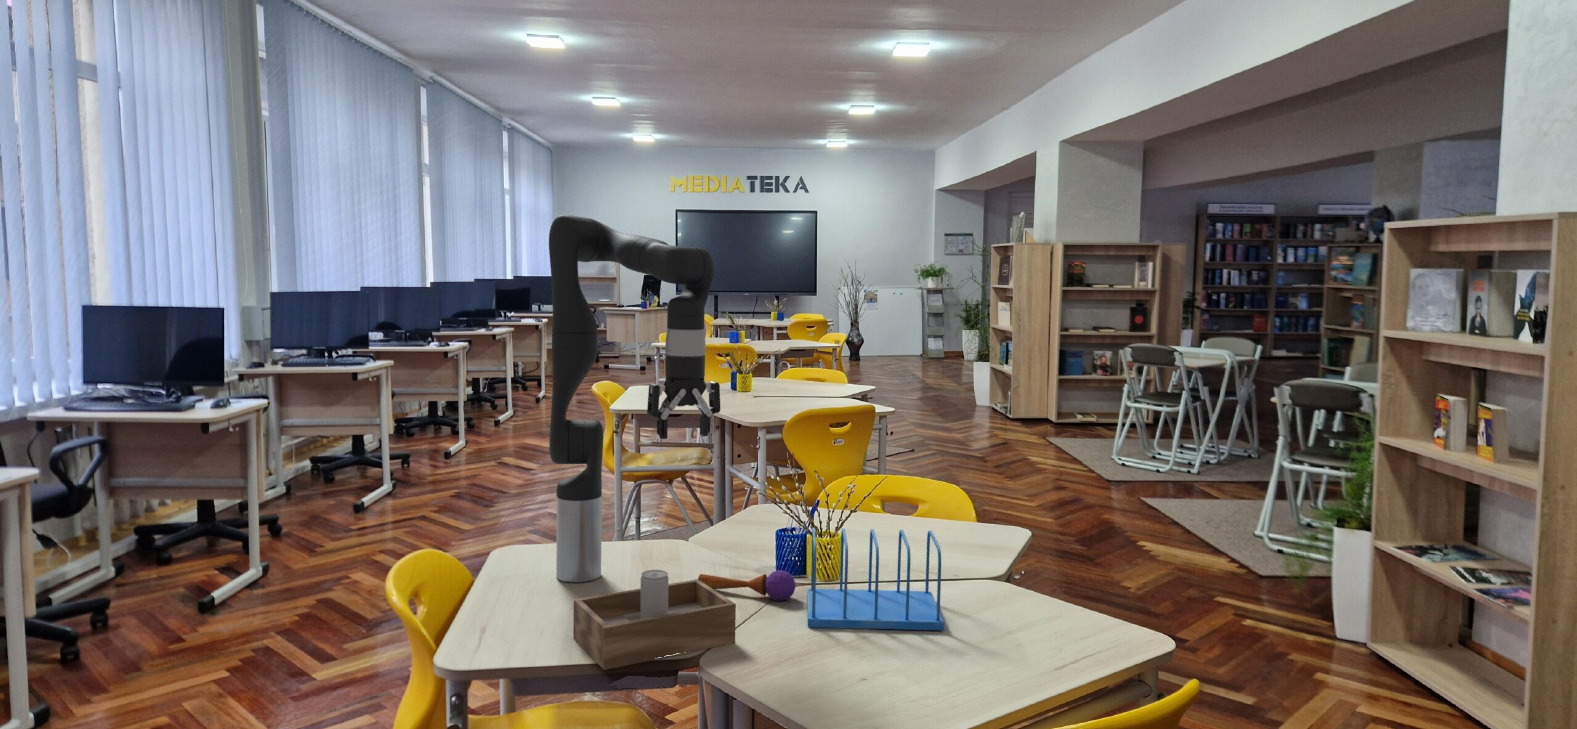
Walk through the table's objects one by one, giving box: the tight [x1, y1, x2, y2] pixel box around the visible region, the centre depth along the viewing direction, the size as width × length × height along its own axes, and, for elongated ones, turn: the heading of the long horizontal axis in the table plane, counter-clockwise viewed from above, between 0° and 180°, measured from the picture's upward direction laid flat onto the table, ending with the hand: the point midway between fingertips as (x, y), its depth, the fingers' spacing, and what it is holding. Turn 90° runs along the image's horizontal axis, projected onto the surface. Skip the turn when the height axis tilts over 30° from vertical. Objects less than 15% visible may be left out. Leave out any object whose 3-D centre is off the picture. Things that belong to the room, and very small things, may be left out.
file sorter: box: [806, 527, 945, 631], centre depth 179 cm, size 25×17×15 cm
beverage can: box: [640, 569, 669, 619], centre depth 163 cm, size 5×5×12 cm
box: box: [572, 578, 737, 671], centre depth 163 cm, size 15×24×7 cm, turn 122°
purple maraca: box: [697, 569, 796, 602], centre depth 188 cm, size 6×6×20 cm
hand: (683, 436), depth 179 cm, fingers open, 8 cm apart
